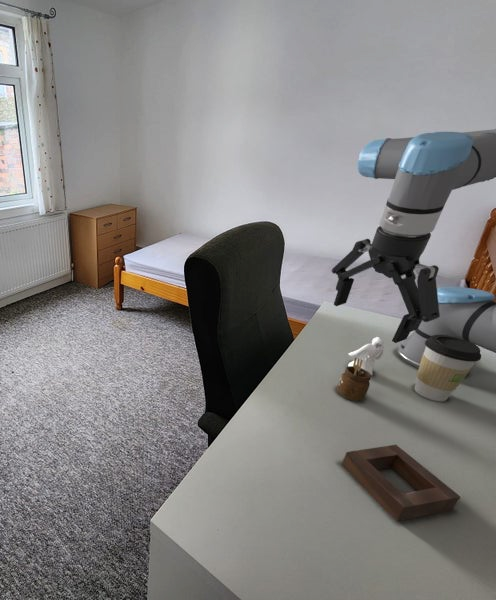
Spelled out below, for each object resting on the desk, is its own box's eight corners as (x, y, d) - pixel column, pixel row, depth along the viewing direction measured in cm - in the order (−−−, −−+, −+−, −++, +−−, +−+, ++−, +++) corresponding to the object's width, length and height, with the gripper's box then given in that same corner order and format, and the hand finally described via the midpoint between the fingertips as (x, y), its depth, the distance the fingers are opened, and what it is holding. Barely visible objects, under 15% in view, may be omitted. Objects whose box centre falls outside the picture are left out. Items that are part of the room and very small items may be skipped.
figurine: (352, 376, 94) (366, 339, 89) (338, 360, 101) (350, 325, 96) (382, 379, 93) (398, 341, 88) (366, 363, 100) (380, 327, 95)
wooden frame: (389, 457, 69) (396, 444, 68) (452, 510, 59) (461, 496, 57) (341, 464, 67) (346, 451, 66) (396, 521, 57) (404, 507, 56)
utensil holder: (368, 396, 86) (384, 356, 81) (357, 405, 83) (373, 364, 78) (342, 384, 91) (356, 345, 86) (331, 392, 88) (345, 353, 83)
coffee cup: (467, 409, 82) (497, 356, 76) (420, 403, 84) (446, 351, 78) (438, 384, 91) (463, 335, 85) (397, 379, 93) (418, 331, 87)
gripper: (328, 212, 70) (306, 295, 82) (470, 264, 50) (413, 365, 62) (358, 203, 71) (332, 287, 83) (508, 251, 51) (445, 352, 63)
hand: (367, 320), depth 73 cm, fingers open, 13 cm apart
